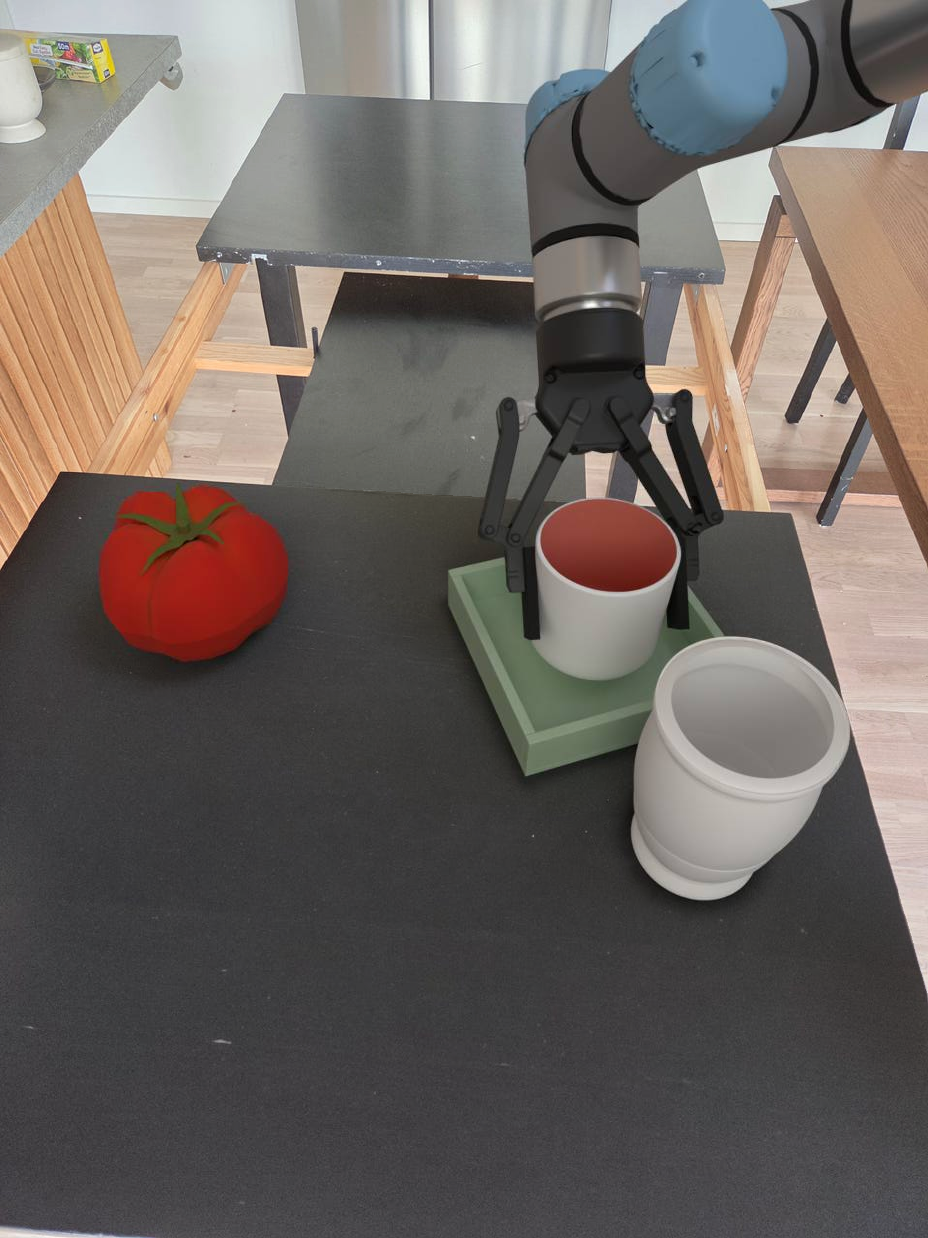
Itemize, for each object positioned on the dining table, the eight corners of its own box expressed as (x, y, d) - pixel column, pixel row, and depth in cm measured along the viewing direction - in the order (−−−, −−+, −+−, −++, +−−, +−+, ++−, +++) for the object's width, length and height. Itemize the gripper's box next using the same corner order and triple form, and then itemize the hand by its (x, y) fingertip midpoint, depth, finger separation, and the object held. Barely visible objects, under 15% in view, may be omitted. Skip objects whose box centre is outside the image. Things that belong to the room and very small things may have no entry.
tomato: (328, 612, 70) (311, 502, 61) (191, 719, 63) (149, 612, 54) (224, 542, 76) (195, 432, 67) (87, 633, 68) (33, 523, 59)
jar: (642, 752, 61) (685, 611, 50) (786, 808, 58) (865, 672, 47) (592, 876, 55) (628, 746, 44) (751, 947, 52) (833, 827, 41)
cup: (506, 609, 67) (513, 514, 60) (616, 579, 70) (636, 484, 63) (559, 704, 61) (575, 611, 54) (679, 667, 64) (709, 573, 56)
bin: (741, 713, 64) (756, 679, 61) (525, 777, 60) (529, 744, 57) (636, 559, 75) (644, 524, 72) (448, 604, 71) (447, 569, 68)
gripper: (723, 328, 64) (736, 620, 65) (426, 341, 62) (446, 640, 63) (766, 295, 57) (781, 625, 58) (430, 308, 55) (452, 648, 56)
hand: (605, 633), depth 61 cm, fingers closed on cup, 10 cm apart
